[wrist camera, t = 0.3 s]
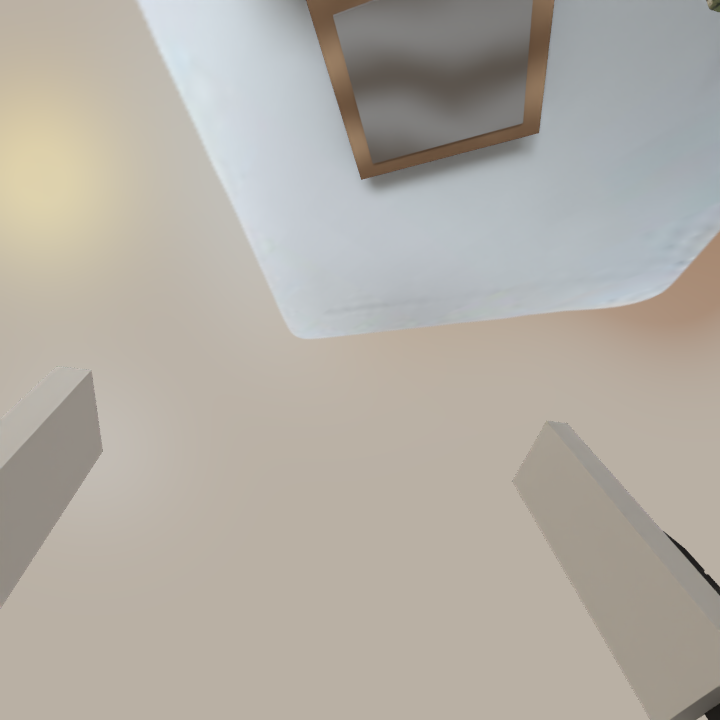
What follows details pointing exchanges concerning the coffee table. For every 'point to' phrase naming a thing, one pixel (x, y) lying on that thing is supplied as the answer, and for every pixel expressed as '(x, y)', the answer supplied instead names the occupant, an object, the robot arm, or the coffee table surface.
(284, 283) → the coffee table surface
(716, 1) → the eiffel tower figurine
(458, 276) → the coffee table surface
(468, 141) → the walnut frame
